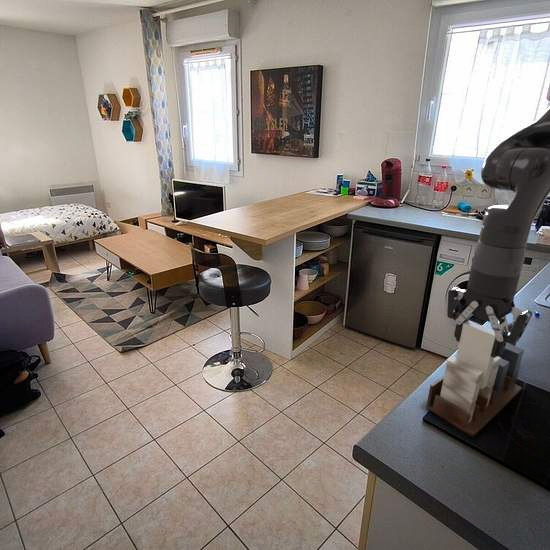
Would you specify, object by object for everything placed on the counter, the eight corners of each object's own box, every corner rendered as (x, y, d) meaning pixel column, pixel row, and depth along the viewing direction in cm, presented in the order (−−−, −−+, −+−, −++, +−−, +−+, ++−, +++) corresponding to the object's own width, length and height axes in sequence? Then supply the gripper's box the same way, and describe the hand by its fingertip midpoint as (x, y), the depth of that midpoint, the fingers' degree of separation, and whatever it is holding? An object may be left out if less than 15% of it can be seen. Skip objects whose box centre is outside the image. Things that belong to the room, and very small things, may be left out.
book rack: (521, 390, 81) (536, 341, 76) (473, 437, 69) (487, 383, 64) (476, 368, 88) (487, 322, 83) (425, 407, 76) (434, 357, 72)
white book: (487, 385, 71) (500, 332, 66) (482, 389, 70) (495, 336, 65) (457, 370, 76) (468, 319, 71) (452, 373, 74) (463, 323, 70)
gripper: (552, 273, 60) (526, 358, 67) (466, 251, 71) (451, 326, 77) (533, 285, 56) (507, 374, 62) (445, 260, 67) (431, 338, 73)
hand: (476, 347), depth 70 cm, fingers closed on white book, 6 cm apart
